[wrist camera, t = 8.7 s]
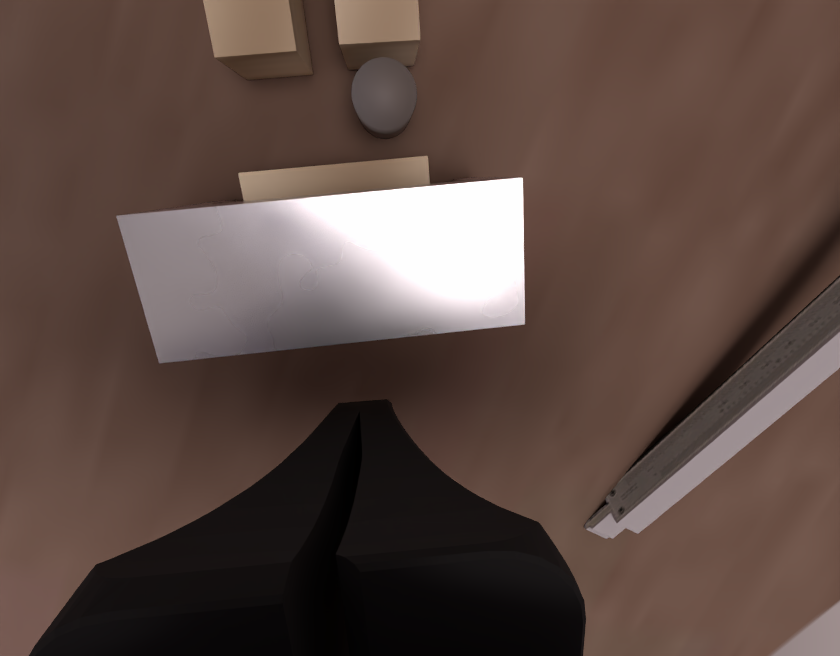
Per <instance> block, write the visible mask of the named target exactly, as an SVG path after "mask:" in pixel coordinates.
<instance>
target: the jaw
mask: <svg viewBox="0 0 840 656" xmlns="http://www.w3.org/2000/svg"><path fill="white" fill-rule="evenodd" d="M334 1H335V10H336V20H337V29H338V38H339V45H340V48H341V51H342V54H343V57H344V60H345V63H346V65H347V68H348V70H353V69H359V70H358V71H357V73H356V75H355V77H354V80H353V83H352V90H351V95H352V102H353V105H354V108H355V110H356V112H357V114H358V117H359V119H360V121H361V123H362V125H363V126H364V128H365V129H366V130H367V131H368V132H369V133H370V134H372V135H373V136H375V137H378V138H383V139H387V138H392V137H395V136H397V135H399V134H400V133H401V132H402V131H403V130H404V129H405V128H406V126H407V125H408V123H409V120H410V118H411V116H412V113H413V111H414V108H415V105H416V101H417V89H416V84H415V81H414V78H413V76H412V74H411V73H410V71H409V70H408V69H407V68H406V67H405V66H414V63H415V59H416V55H417V51H418V47H419V43H420V25H419V8H418V0H334Z"/></svg>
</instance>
